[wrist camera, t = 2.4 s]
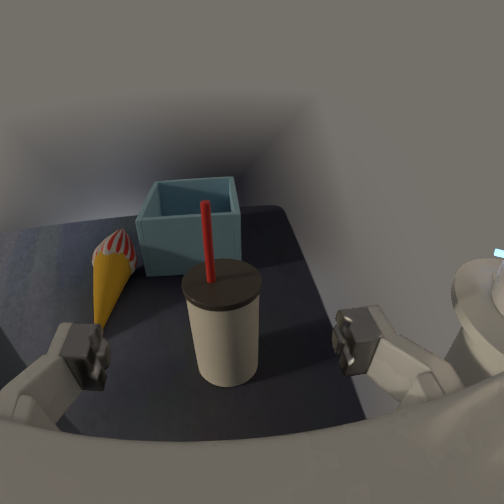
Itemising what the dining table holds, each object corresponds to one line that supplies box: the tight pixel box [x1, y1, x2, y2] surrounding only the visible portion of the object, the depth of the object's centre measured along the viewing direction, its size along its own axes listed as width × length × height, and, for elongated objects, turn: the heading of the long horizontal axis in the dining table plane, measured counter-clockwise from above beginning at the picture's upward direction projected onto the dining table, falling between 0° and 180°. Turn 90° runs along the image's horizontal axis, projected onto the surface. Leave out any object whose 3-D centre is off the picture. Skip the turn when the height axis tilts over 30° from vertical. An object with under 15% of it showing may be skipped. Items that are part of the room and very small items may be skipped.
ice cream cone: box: [92, 228, 137, 329], centre depth 39 cm, size 6×6×20 cm
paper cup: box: [182, 200, 262, 387], centre depth 26 cm, size 6×6×17 cm
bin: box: [136, 177, 241, 277], centre depth 49 cm, size 14×16×9 cm
